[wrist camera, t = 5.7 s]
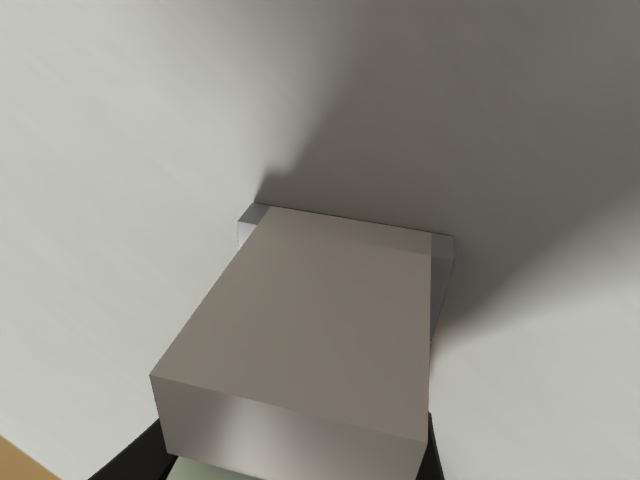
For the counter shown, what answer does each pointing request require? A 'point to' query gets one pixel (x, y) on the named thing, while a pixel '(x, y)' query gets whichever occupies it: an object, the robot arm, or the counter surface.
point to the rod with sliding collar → (309, 351)
